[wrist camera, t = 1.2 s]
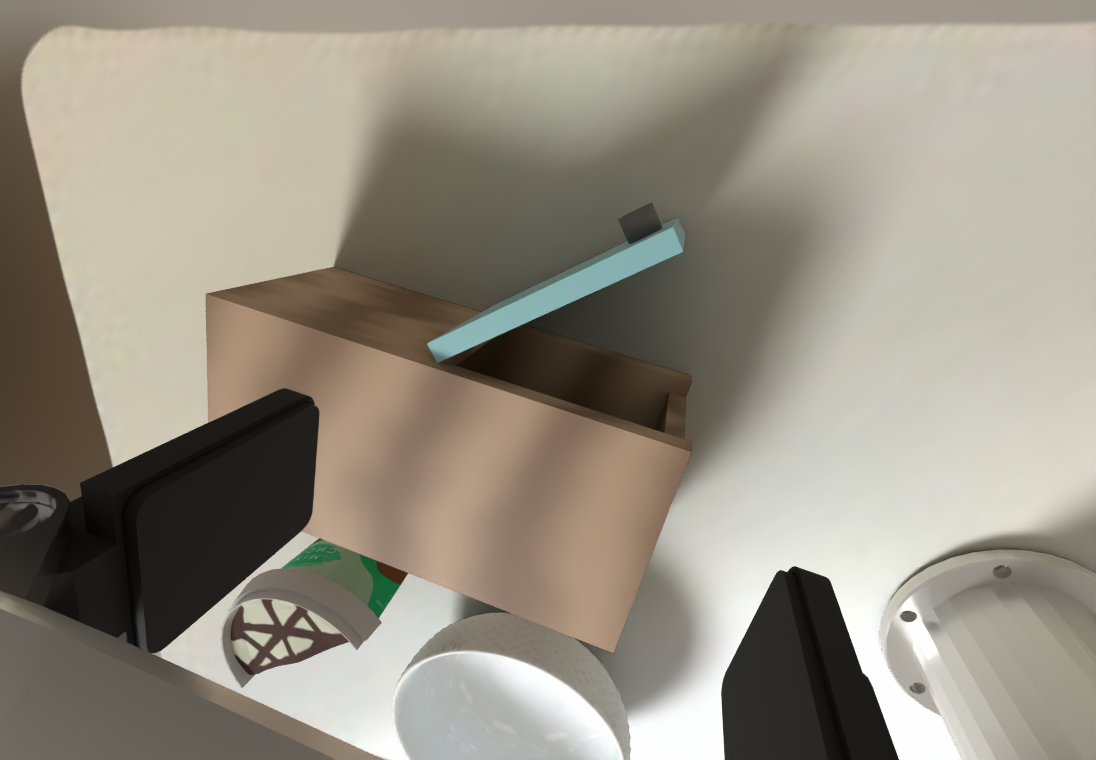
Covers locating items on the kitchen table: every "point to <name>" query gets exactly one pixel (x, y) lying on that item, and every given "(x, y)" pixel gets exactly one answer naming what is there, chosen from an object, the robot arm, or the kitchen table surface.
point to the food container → (306, 609)
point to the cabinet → (465, 443)
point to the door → (571, 282)
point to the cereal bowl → (508, 696)
